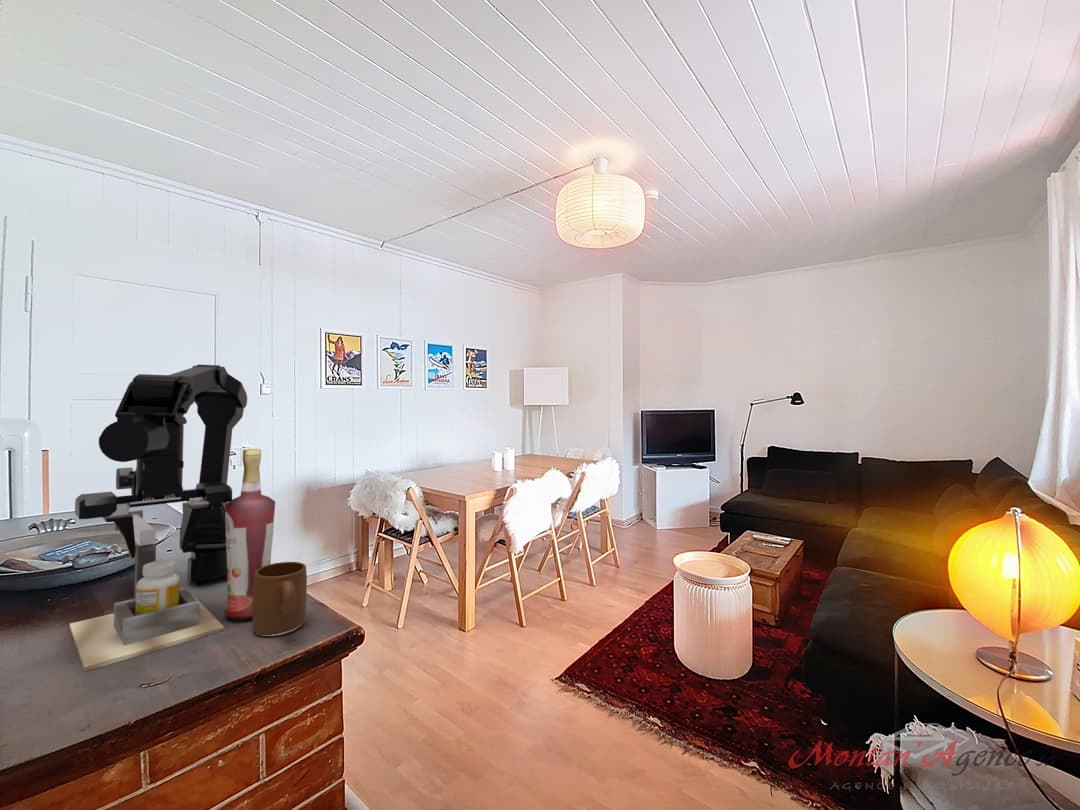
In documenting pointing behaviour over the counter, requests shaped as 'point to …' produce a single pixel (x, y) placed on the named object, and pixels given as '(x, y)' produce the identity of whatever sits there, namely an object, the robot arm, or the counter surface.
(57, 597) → the counter surface
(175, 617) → the socket board
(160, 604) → the supplement bottle
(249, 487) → the liquor
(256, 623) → the mug
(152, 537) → the keeper bolt
